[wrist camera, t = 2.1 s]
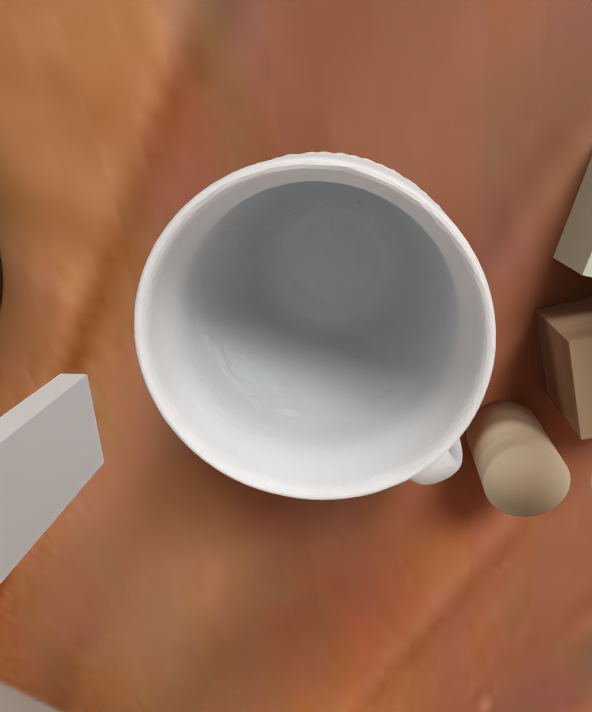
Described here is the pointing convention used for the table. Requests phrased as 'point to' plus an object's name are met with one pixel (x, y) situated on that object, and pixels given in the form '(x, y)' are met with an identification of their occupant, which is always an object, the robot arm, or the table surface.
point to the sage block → (578, 231)
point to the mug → (316, 328)
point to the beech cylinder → (516, 460)
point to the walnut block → (568, 360)
